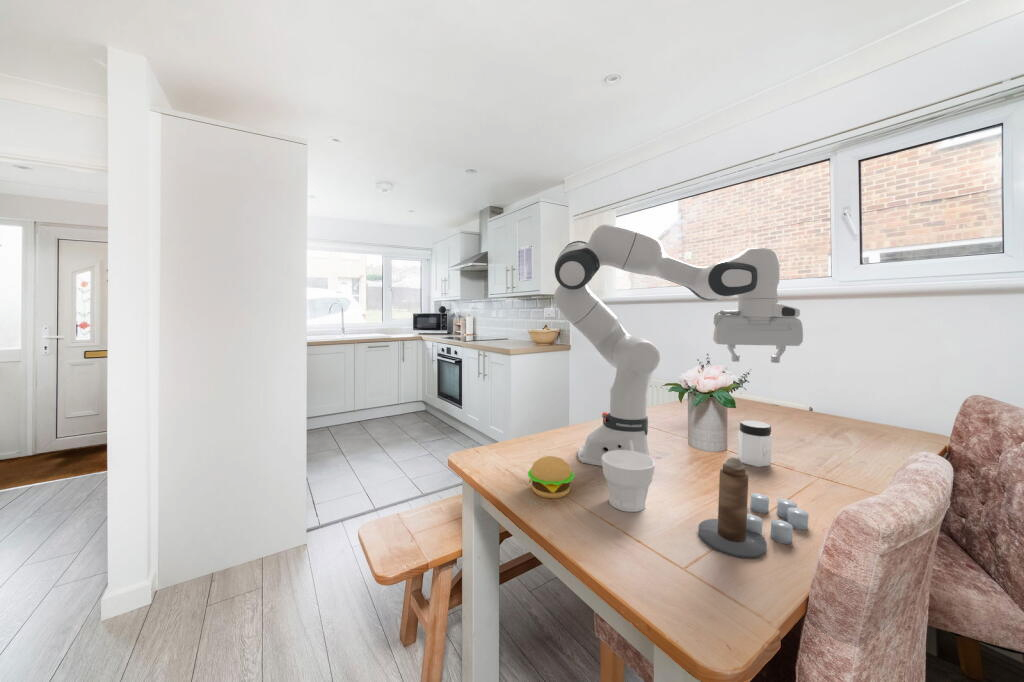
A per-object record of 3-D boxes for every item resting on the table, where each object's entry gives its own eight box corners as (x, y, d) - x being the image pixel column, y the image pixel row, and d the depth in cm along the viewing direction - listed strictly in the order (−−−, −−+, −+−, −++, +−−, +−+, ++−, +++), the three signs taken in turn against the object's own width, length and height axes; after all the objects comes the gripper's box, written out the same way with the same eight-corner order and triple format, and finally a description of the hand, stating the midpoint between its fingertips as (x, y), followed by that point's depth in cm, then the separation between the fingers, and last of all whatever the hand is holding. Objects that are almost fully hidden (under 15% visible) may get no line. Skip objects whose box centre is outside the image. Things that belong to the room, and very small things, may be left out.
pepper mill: (721, 540, 75) (724, 461, 74) (714, 526, 80) (717, 452, 79) (749, 543, 74) (753, 463, 72) (741, 529, 78) (744, 454, 77)
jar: (752, 468, 112) (754, 428, 111) (731, 458, 120) (732, 421, 119) (777, 465, 114) (779, 426, 113) (754, 455, 122) (756, 419, 121)
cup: (650, 494, 96) (651, 451, 95) (658, 520, 84) (659, 471, 83) (600, 489, 99) (601, 448, 98) (600, 513, 87) (601, 466, 86)
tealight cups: (741, 537, 77) (741, 523, 77) (720, 501, 92) (720, 489, 92) (828, 549, 73) (828, 534, 73) (791, 509, 88) (792, 497, 88)
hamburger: (583, 490, 98) (583, 458, 98) (554, 507, 90) (554, 472, 89) (548, 476, 107) (548, 446, 106) (518, 490, 99) (518, 458, 98)
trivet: (705, 552, 73) (705, 547, 72) (693, 519, 84) (693, 515, 84) (777, 563, 69) (777, 558, 69) (753, 527, 81) (753, 523, 81)
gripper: (717, 310, 100) (715, 362, 100) (807, 310, 94) (804, 364, 95) (711, 310, 106) (709, 359, 107) (795, 310, 100) (793, 361, 101)
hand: (755, 362), depth 101 cm, fingers open, 8 cm apart
